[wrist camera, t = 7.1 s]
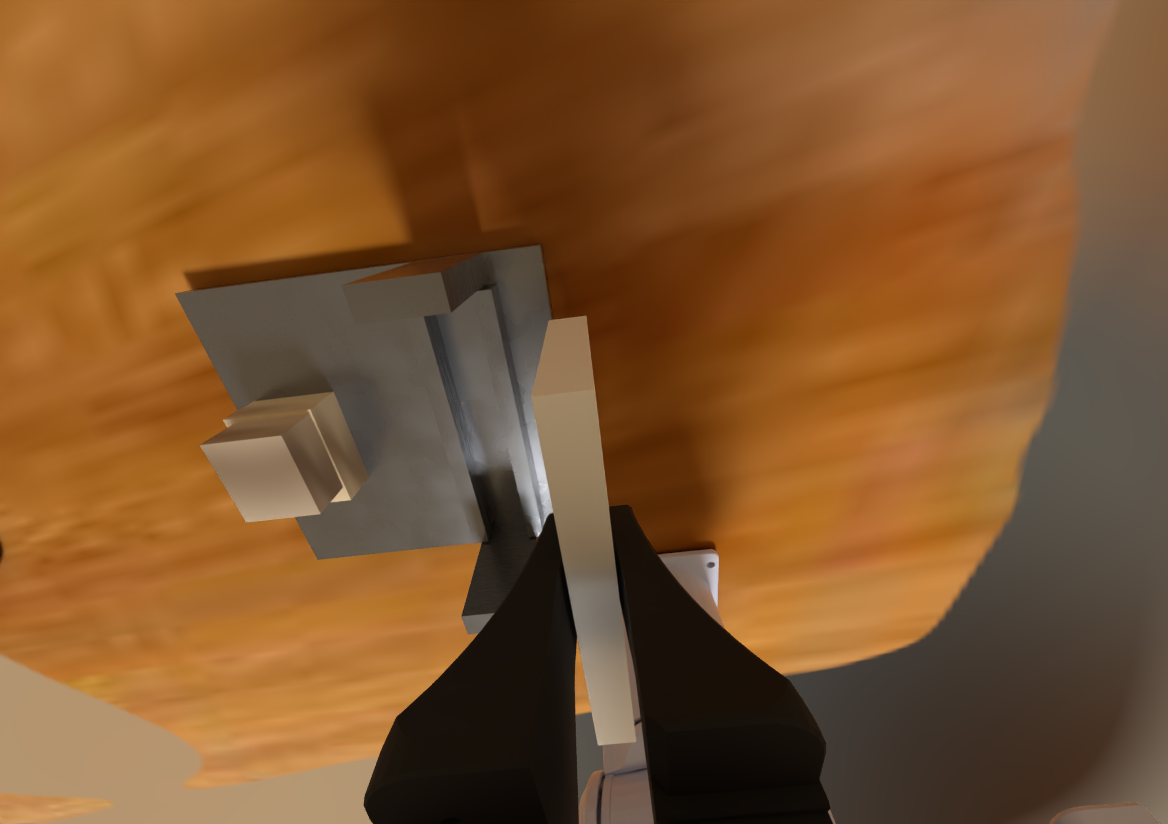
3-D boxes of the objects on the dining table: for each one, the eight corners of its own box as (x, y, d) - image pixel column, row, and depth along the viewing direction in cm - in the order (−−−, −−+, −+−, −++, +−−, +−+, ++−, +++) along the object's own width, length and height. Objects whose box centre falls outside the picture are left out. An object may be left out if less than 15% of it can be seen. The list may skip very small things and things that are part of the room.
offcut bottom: (368, 476, 22) (351, 500, 21) (296, 485, 23) (272, 508, 21) (333, 391, 20) (310, 409, 18) (253, 401, 20) (223, 419, 19)
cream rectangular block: (618, 585, 18) (636, 741, 13) (591, 588, 18) (598, 745, 13) (586, 315, 13) (594, 389, 8) (548, 320, 13) (531, 397, 8)
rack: (584, 519, 25) (587, 622, 19) (326, 547, 26) (246, 656, 20) (541, 243, 18) (524, 260, 12) (193, 289, 19) (5, 328, 13)
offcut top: (343, 487, 20) (320, 514, 18) (275, 494, 20) (246, 522, 19) (309, 413, 19) (281, 435, 17) (235, 422, 19) (199, 445, 17)
